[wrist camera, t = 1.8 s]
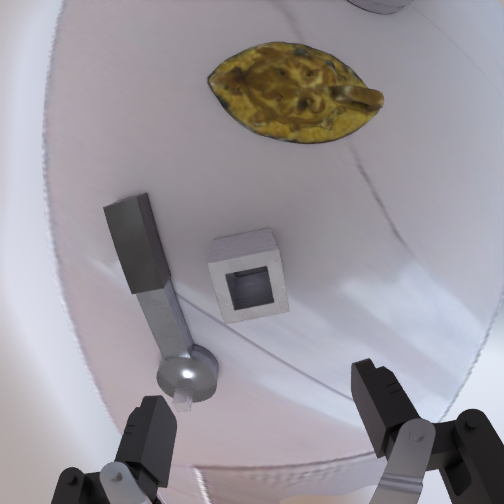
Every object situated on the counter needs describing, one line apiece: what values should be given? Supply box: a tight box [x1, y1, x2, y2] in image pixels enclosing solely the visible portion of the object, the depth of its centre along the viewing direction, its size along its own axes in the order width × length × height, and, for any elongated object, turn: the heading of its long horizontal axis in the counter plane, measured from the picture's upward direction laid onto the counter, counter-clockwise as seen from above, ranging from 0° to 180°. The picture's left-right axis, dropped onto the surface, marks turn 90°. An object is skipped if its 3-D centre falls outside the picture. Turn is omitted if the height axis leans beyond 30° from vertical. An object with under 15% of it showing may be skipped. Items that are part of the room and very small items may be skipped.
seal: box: [208, 42, 384, 144], centre depth 20 cm, size 9×5×15 cm
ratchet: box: [103, 193, 218, 412], centre depth 24 cm, size 22×6×6 cm, turn 12°
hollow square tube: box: [207, 228, 290, 324], centre depth 23 cm, size 5×5×6 cm
